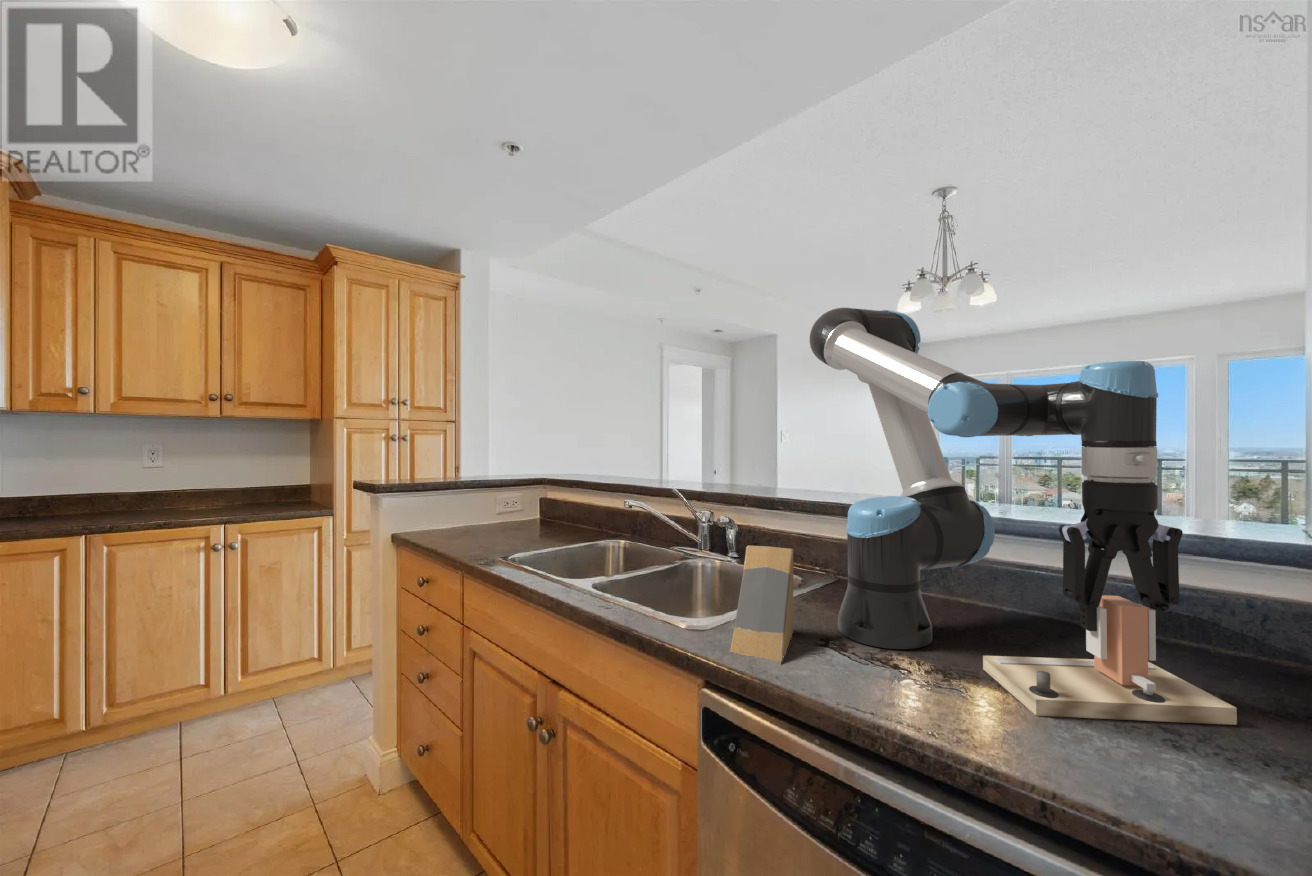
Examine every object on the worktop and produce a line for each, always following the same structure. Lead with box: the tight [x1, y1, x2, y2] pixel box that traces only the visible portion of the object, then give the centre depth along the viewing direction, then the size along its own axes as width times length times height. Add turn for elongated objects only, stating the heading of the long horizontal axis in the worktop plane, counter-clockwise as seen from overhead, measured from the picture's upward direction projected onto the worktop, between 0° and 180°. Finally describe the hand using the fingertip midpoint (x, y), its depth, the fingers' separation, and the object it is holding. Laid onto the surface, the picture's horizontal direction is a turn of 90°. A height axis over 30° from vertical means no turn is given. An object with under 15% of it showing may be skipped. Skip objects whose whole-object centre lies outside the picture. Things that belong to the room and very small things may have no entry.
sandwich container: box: [729, 545, 795, 661], centre depth 88 cm, size 9×15×15 cm, turn 158°
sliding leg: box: [1093, 594, 1156, 695], centre depth 68 cm, size 3×8×10 cm, turn 173°
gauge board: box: [982, 655, 1238, 726], centre depth 70 cm, size 22×13×4 cm, turn 83°
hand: (1120, 655), depth 69 cm, fingers open, 5 cm apart
